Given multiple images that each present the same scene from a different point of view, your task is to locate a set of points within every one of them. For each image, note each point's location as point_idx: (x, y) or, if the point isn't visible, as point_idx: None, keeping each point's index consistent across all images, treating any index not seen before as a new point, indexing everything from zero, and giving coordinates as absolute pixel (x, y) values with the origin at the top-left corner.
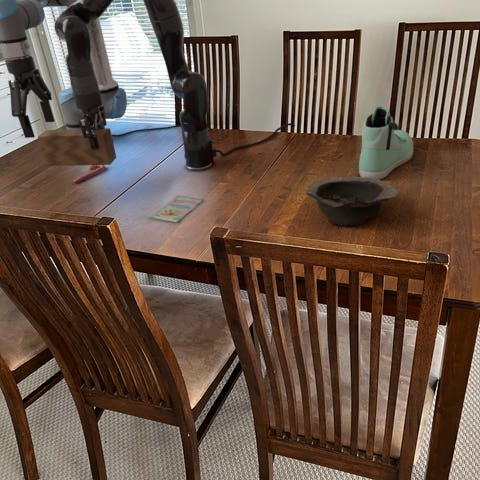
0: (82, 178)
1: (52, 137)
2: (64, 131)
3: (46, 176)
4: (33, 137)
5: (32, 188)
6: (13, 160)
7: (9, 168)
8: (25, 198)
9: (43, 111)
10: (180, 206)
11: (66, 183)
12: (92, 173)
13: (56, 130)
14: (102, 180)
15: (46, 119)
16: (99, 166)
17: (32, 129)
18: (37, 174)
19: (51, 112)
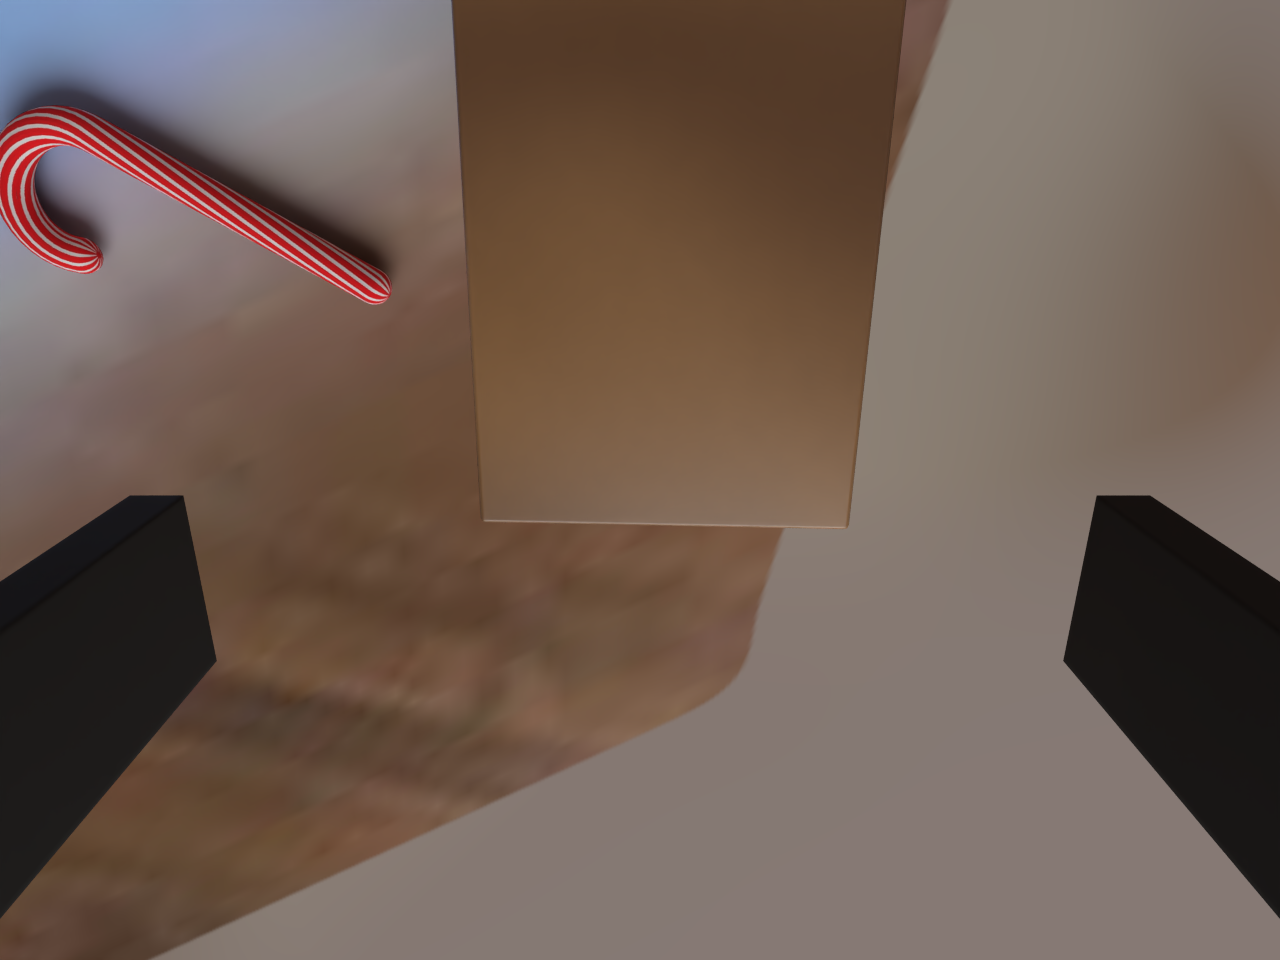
0: (323, 239)
1: (879, 212)
2: (591, 39)
3: (274, 601)
4: (1151, 497)
5: (494, 610)
6: (38, 952)
7: (174, 916)
8: (664, 583)
9: (67, 805)
10: None
11: (389, 375)
12: (208, 178)
13: (507, 290)
14: (298, 36)
15: (178, 662)
16: (29, 178)
17: (1197, 564)
18: (247, 685)
19: (11, 596)
